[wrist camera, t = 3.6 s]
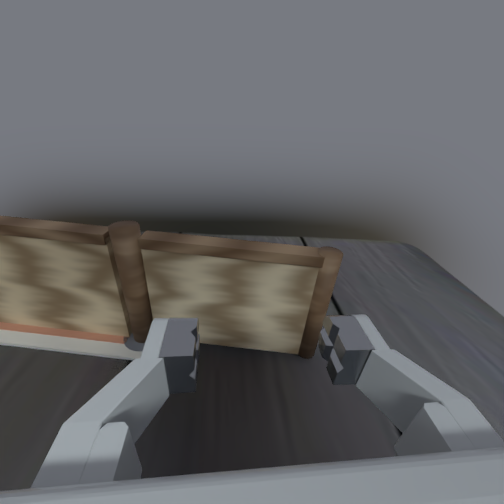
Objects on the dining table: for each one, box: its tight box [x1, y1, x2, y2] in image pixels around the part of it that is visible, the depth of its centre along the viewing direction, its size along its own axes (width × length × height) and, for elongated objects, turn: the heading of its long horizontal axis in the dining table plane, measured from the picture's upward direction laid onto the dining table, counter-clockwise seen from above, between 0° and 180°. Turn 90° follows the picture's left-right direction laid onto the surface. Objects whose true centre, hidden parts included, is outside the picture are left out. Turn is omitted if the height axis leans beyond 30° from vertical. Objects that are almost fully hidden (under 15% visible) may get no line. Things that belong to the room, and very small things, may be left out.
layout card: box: [0, 322, 145, 360], centre depth 35 cm, size 22×22×1 cm
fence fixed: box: [0, 216, 153, 343], centre depth 25 cm, size 20×2×14 cm, turn 85°
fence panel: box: [138, 230, 343, 359], centre depth 24 cm, size 17×2×12 cm, turn 85°
